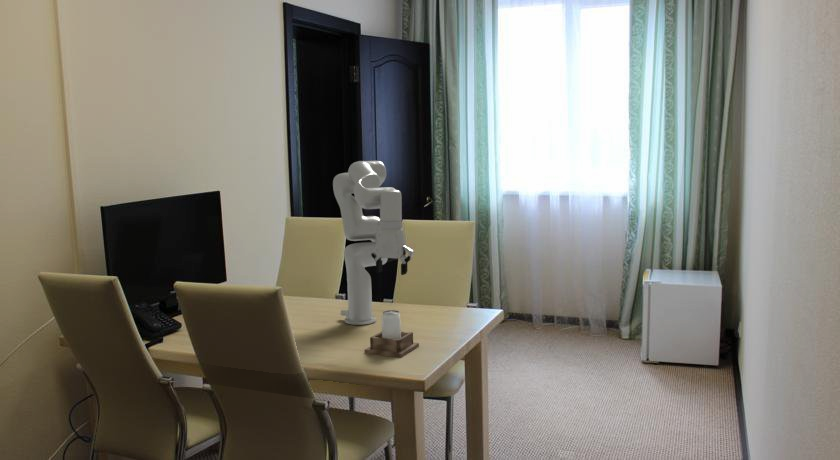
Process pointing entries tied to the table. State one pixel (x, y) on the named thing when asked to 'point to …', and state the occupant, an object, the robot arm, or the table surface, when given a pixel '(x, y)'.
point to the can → (391, 324)
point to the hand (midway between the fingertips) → (391, 273)
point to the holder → (392, 345)
